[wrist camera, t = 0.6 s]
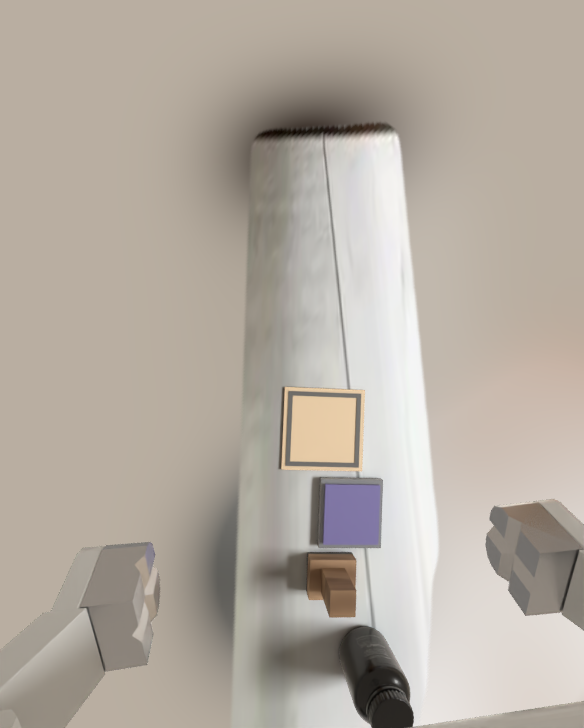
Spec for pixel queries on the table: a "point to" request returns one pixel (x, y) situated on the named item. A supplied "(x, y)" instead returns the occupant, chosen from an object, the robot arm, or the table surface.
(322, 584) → the stamp
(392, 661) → the supplement bottle
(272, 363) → the table surface
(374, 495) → the ink pad
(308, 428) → the marked card
